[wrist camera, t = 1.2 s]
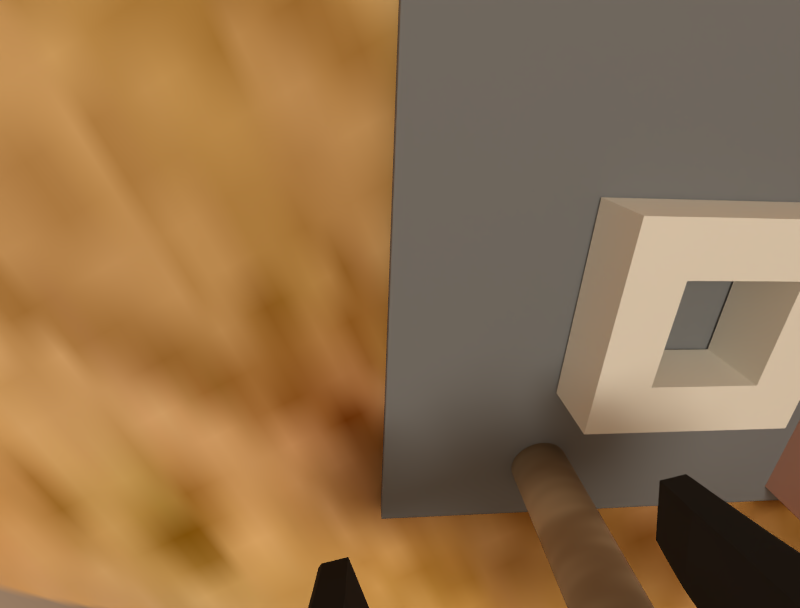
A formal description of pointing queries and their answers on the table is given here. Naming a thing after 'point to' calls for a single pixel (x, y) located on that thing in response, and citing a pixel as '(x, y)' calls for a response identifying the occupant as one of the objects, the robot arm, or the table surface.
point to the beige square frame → (656, 309)
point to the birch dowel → (574, 533)
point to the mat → (562, 226)
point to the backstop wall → (788, 475)
